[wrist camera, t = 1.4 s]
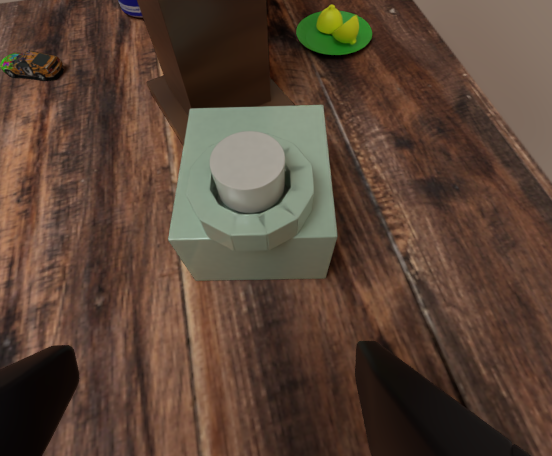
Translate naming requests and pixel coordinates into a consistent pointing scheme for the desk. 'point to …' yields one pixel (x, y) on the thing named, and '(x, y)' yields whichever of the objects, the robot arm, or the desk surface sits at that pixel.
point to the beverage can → (130, 7)
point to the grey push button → (248, 171)
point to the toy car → (32, 66)
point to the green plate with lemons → (334, 32)
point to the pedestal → (209, 56)
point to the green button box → (266, 224)
